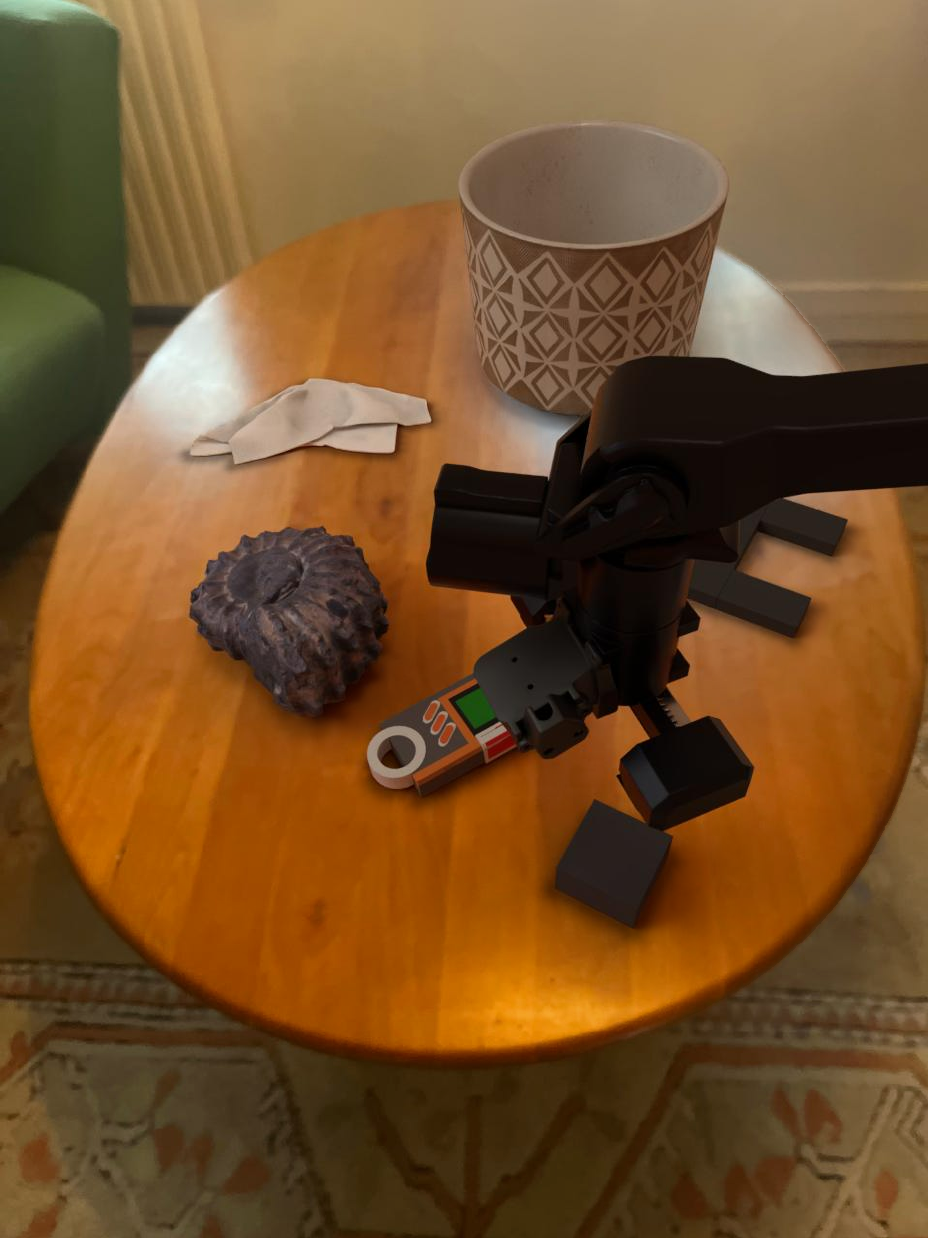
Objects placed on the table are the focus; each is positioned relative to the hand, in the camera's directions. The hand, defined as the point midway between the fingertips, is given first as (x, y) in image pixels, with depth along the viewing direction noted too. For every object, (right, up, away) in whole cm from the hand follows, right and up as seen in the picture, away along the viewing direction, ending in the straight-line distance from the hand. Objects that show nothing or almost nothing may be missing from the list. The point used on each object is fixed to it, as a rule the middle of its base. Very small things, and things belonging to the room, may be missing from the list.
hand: (610, 750), depth 62 cm
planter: (+4, +37, +48) cm, 61 cm away
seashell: (-24, +5, +23) cm, 34 cm away
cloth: (-26, +30, +44) cm, 59 cm away
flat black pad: (+14, +16, +29) cm, 36 cm away
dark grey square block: (+1, -10, +8) cm, 13 cm away
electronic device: (-10, -1, +16) cm, 19 cm away
